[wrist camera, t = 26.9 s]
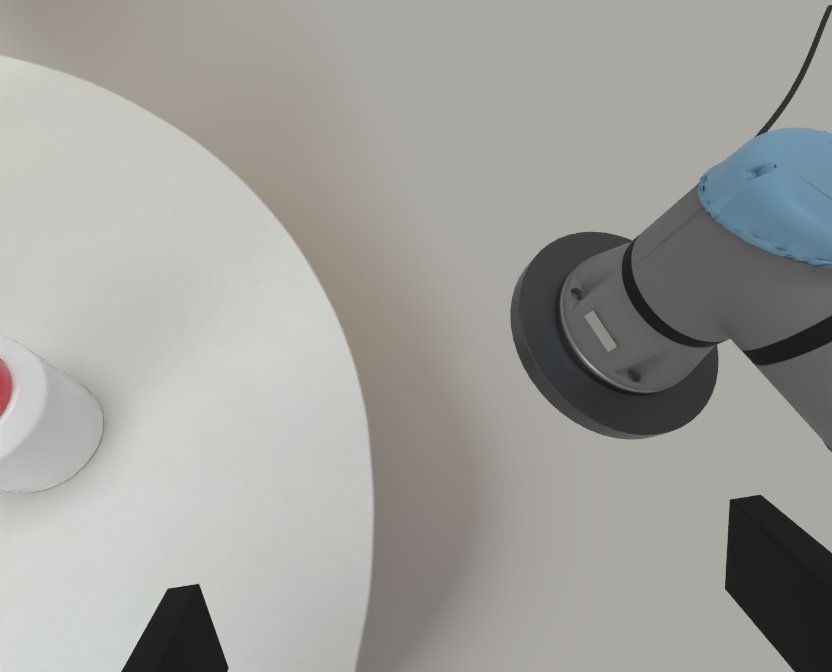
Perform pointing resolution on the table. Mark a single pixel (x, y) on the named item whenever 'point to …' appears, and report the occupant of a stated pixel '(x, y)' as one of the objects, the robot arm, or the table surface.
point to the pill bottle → (42, 422)
